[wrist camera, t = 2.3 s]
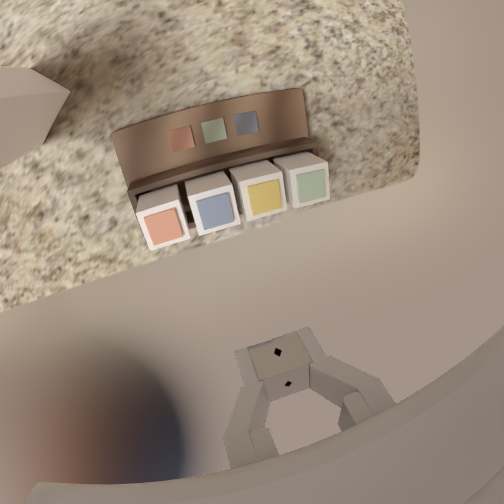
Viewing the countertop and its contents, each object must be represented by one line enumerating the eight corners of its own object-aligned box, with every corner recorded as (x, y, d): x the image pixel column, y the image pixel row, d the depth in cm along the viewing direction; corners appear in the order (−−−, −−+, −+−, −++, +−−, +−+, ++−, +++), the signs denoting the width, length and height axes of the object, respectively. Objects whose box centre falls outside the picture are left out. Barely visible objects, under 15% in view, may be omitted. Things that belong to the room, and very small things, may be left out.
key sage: (307, 151, 25) (329, 162, 22) (310, 185, 27) (331, 200, 24) (273, 158, 25) (290, 171, 22) (278, 193, 27) (295, 210, 24)
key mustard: (266, 159, 25) (283, 172, 22) (272, 194, 27) (288, 211, 23) (229, 168, 24) (240, 183, 21) (236, 203, 26) (248, 223, 23)
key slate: (222, 170, 24) (233, 185, 21) (230, 205, 26) (241, 225, 23) (184, 181, 24) (187, 198, 21) (194, 216, 26) (199, 237, 22)
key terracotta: (176, 183, 24) (178, 200, 21) (187, 218, 26) (191, 240, 22) (139, 195, 23) (135, 214, 20) (151, 229, 25) (150, 252, 22)
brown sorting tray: (296, 88, 26) (315, 89, 22) (307, 186, 32) (325, 200, 28) (113, 131, 23) (104, 138, 20) (147, 231, 29) (145, 252, 26)
